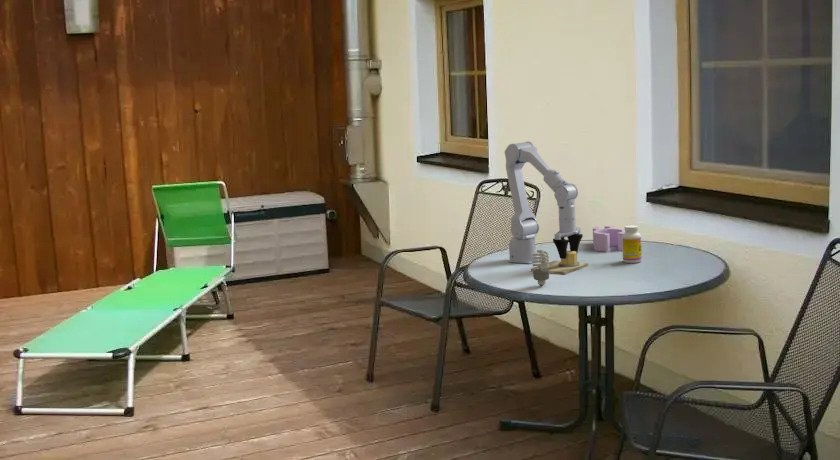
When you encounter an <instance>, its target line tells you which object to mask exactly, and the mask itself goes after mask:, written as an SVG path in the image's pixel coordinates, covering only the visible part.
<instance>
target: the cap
mask: <svg viewBox="0 0 840 460" xmlns="http://www.w3.org/2000/svg"><path fill="white" fill-rule="evenodd" d="M560 261H561V264H563V265H574V264H577V262H578V253H577V254H576V251H570V250H567V255H566V259H562V258H560Z"/></svg>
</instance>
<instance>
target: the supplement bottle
mask: <svg viewBox="0 0 840 460" xmlns="http://www.w3.org/2000/svg"><path fill="white" fill-rule="evenodd" d="M624 230H625V233H624V234H623V235H622V249H623V251H622V262H624V263H627V264H636V263H641V262H642V258H643V256H642V235H641V233H640V232H639V231H638V230H639V226H638V225H631V224H630V225H625V226H624Z"/></svg>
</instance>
